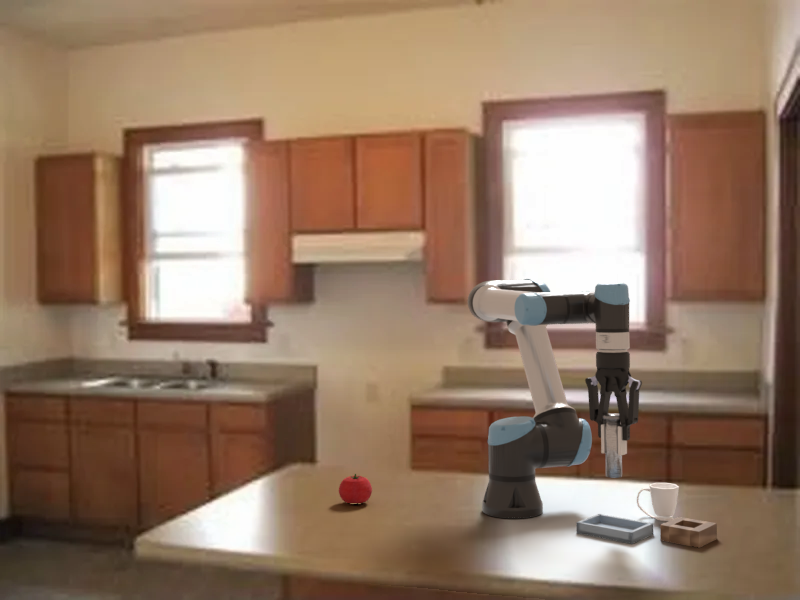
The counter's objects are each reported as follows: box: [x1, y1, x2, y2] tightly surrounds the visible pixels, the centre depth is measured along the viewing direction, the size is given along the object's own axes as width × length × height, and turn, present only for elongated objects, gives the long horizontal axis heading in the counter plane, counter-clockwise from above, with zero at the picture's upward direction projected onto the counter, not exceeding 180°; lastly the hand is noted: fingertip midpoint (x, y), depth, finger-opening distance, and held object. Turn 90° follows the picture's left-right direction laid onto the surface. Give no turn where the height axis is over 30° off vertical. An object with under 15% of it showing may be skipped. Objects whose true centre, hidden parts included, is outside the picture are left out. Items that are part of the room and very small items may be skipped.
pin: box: [602, 412, 623, 479], centre depth 210 cm, size 5×5×14 cm
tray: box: [575, 513, 654, 545], centre depth 211 cm, size 14×10×2 cm
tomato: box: [338, 473, 373, 504], centre depth 244 cm, size 9×9×8 cm
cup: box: [636, 482, 680, 522], centre depth 224 cm, size 7×10×8 cm
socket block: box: [659, 516, 718, 549], centre depth 205 cm, size 9×9×4 cm
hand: (614, 453), depth 210 cm, fingers closed on pin, 4 cm apart
